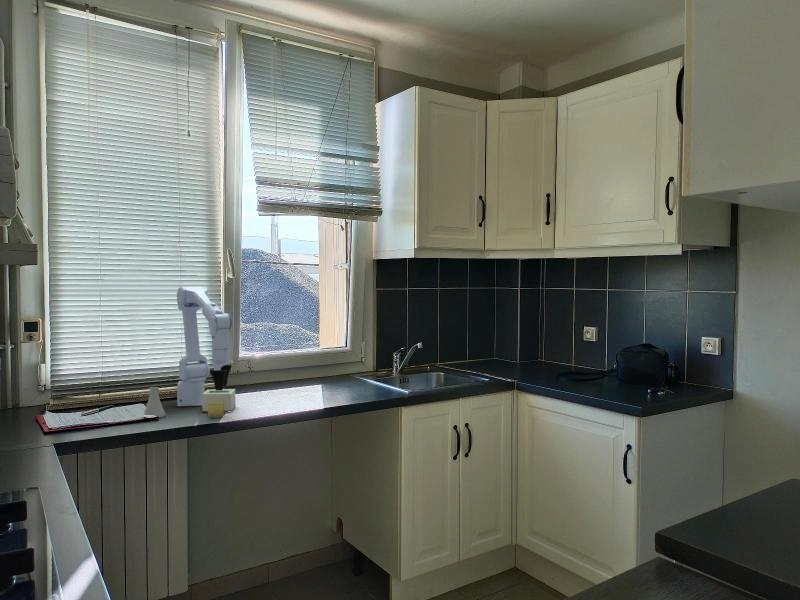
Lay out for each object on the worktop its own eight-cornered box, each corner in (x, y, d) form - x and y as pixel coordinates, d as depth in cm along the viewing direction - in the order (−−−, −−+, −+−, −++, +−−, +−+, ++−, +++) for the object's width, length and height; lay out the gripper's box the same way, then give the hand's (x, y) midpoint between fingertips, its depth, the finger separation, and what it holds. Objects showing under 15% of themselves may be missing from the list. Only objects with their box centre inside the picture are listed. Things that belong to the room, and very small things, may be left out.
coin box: (202, 412, 211) (202, 394, 211) (207, 407, 220) (207, 389, 219) (231, 411, 212) (231, 393, 212) (235, 406, 221) (235, 389, 220)
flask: (158, 413, 210) (158, 385, 210) (169, 416, 206) (169, 387, 205) (138, 417, 205) (138, 388, 204) (149, 420, 200) (149, 390, 200)
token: (208, 417, 204) (207, 403, 204) (209, 416, 206) (209, 401, 206) (223, 417, 204) (222, 403, 204) (224, 415, 207) (224, 401, 207)
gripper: (229, 351, 199) (229, 391, 200) (235, 346, 214) (236, 383, 215) (207, 351, 199) (207, 392, 199) (215, 346, 213) (216, 384, 214)
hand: (221, 388), depth 207 cm, fingers open, 7 cm apart
